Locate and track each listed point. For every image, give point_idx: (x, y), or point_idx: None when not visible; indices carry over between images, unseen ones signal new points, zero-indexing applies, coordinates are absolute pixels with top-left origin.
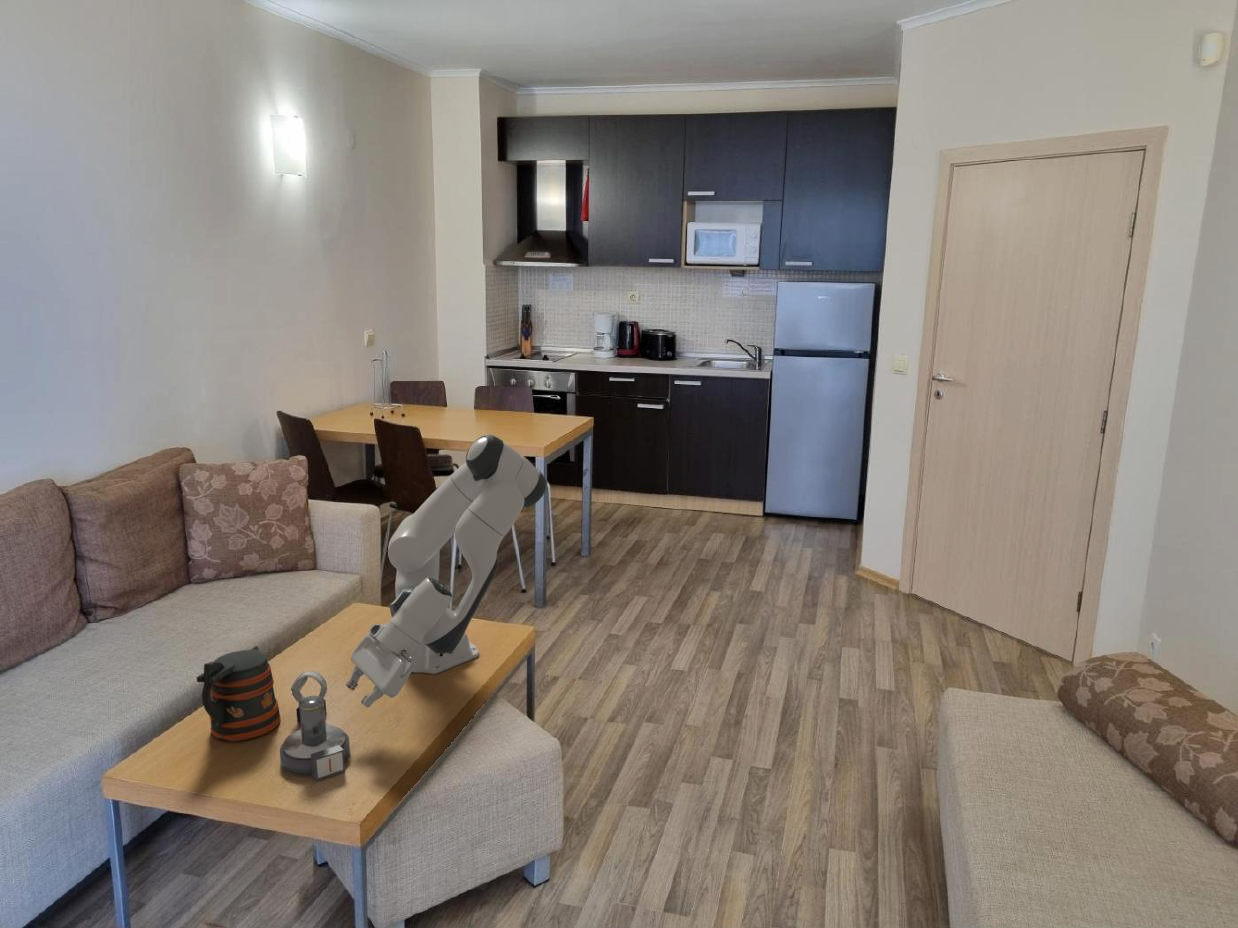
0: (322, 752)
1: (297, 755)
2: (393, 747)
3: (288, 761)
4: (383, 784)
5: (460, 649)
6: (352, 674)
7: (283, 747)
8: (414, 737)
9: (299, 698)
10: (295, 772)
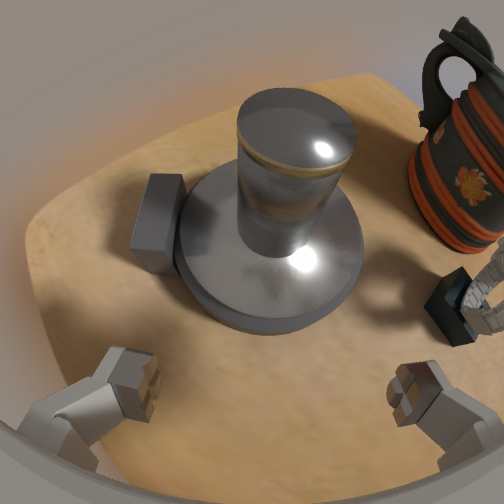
0: (163, 198)
1: (223, 165)
2: (170, 428)
3: None
4: (53, 311)
5: None
6: (467, 405)
7: None
8: (184, 488)
9: (486, 277)
10: None
